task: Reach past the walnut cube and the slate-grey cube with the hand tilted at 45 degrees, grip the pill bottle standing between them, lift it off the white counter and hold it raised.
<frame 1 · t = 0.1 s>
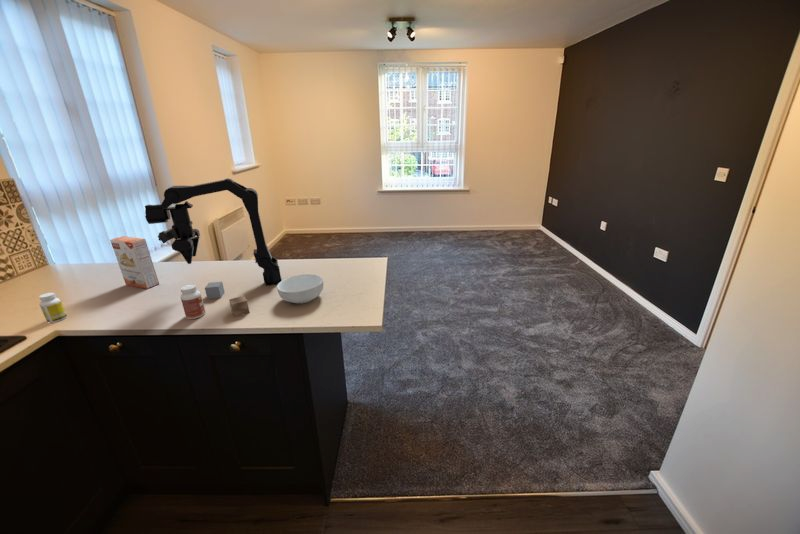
hand: (192, 259, 138), 15 cm above the table, tool pointing down, fingers open, 9 cm apart
cracker box: (142, 285, 154), on the table
walnut cube: (240, 312, 127), on the table
pill bottle: (196, 315, 126), on the table
slate-grey cube: (216, 296, 141), on the table
cereal bowl: (302, 299, 136), on the table
supplement bottle: (57, 320, 127), on the table
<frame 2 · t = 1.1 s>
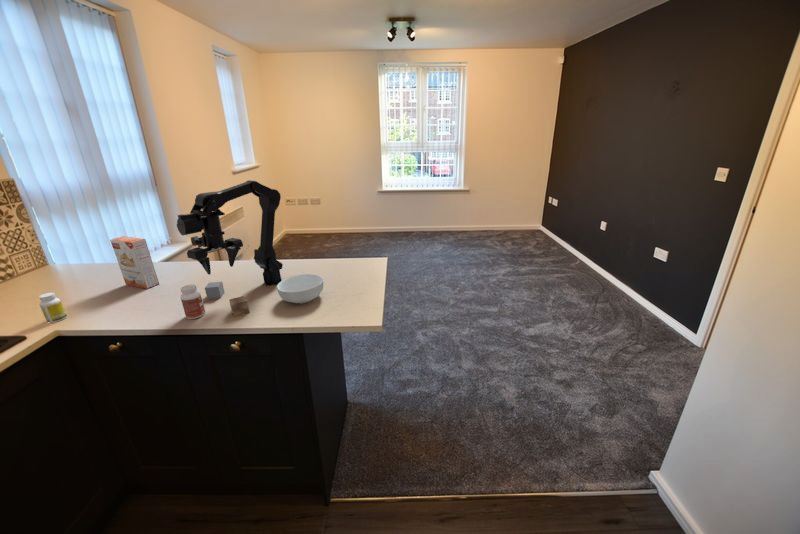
hand: (220, 270, 132), 13 cm above the table, tool pointing down, fingers open, 9 cm apart
nothing on the table moved.
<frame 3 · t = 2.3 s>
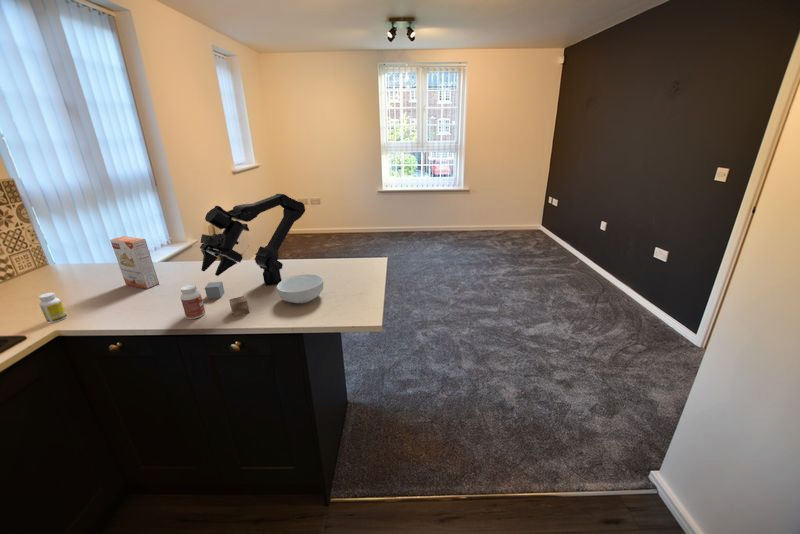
hand: (209, 273, 128), 13 cm above the table, tool tilted 45°, fingers open, 9 cm apart
nothing on the table moved.
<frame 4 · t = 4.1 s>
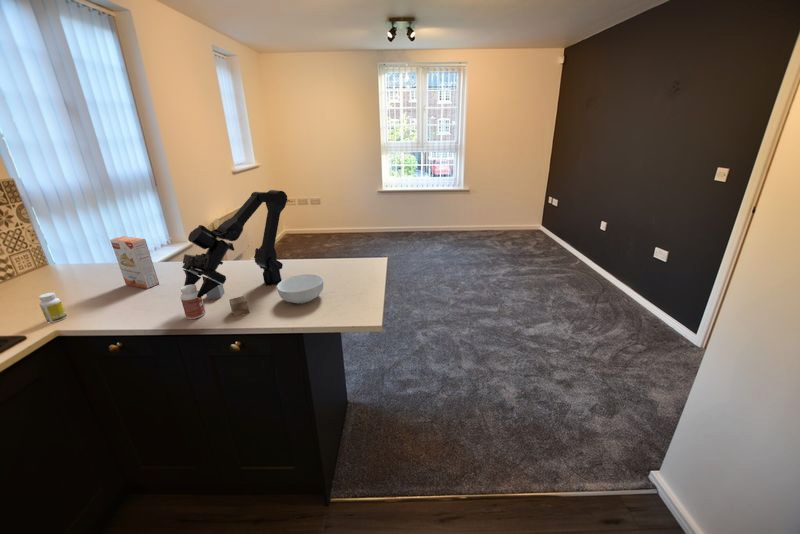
hand: (191, 294, 124), 8 cm above the table, tool tilted 45°, fingers open, 9 cm apart
nothing on the table moved.
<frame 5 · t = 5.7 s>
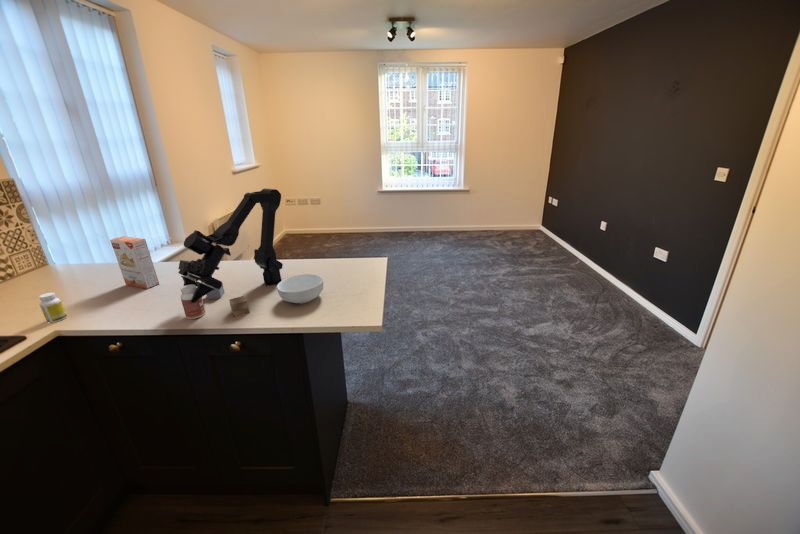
hand: (187, 300, 123), 7 cm above the table, tool tilted 45°, fingers closed on pill bottle, 6 cm apart
pill bottle: (196, 315, 126), on the table, touching gripper
everything else where it was.
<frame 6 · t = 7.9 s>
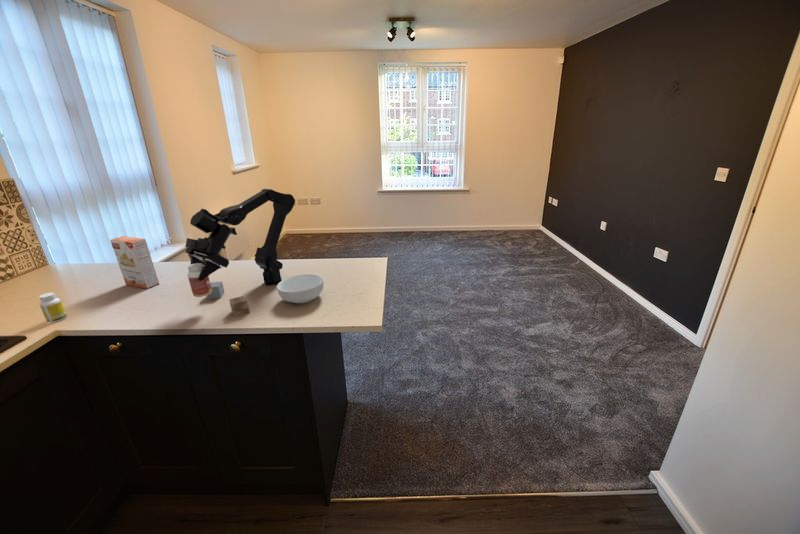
hand: (194, 278, 124), 13 cm above the table, tool tilted 45°, fingers closed on pill bottle, 6 cm apart
pill bottle: (203, 294, 127), point 6 cm above the table, touching gripper
everything else where it was.
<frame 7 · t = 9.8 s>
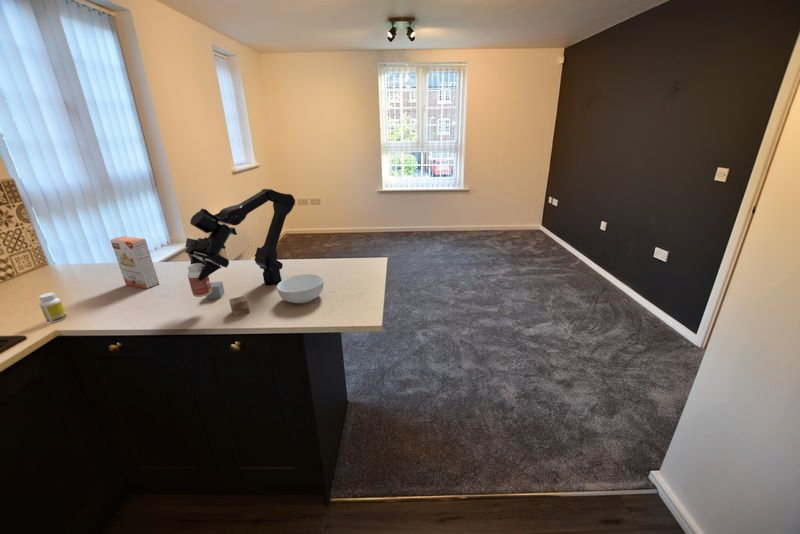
hand: (194, 278, 124), 13 cm above the table, tool tilted 45°, fingers closed on pill bottle, 6 cm apart
pill bottle: (203, 294, 127), point 6 cm above the table, touching gripper
everything else where it was.
at the end: the gripper is holding pill bottle; pill bottle point 6.5 cm above the table; walnut cube moved 0.1 cm from its start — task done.
